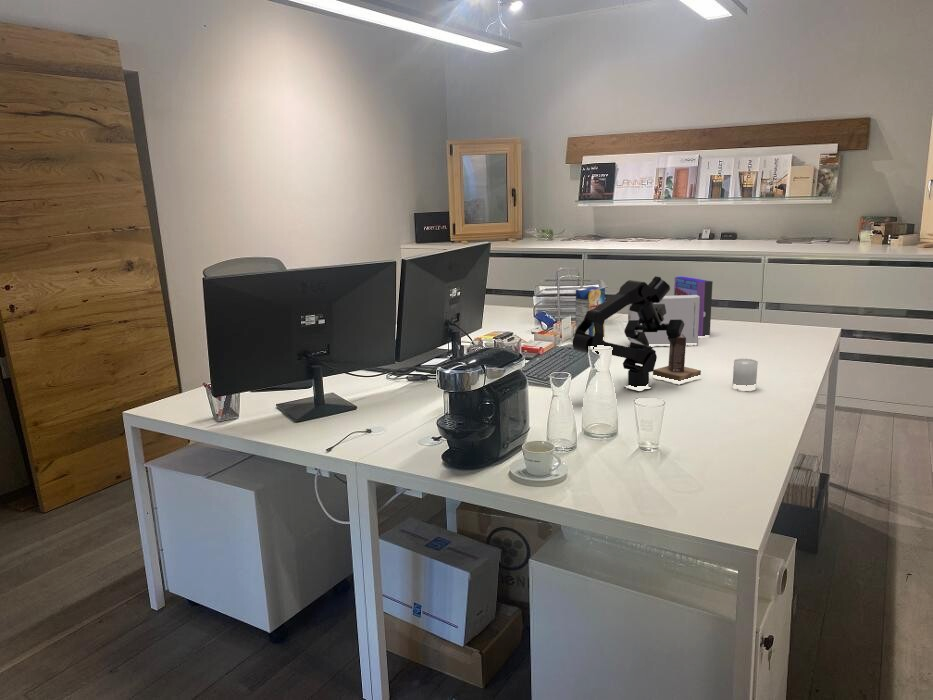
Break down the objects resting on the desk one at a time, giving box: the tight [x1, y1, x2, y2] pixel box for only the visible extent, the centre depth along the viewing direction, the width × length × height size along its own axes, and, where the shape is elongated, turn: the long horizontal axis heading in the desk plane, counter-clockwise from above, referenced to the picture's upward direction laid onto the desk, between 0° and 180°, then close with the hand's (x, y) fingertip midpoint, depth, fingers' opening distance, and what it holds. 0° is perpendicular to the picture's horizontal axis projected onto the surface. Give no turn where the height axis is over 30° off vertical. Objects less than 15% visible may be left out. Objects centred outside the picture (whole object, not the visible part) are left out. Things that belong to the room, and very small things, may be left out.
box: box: [667, 334, 687, 373], centre depth 237 cm, size 6×4×12 cm
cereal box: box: [673, 276, 714, 336], centre depth 300 cm, size 17×5×24 cm, turn 25°
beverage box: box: [575, 286, 606, 336], centre depth 295 cm, size 7×11×22 cm, turn 135°
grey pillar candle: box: [732, 358, 759, 386], centre depth 225 cm, size 7×7×9 cm
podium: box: [652, 365, 702, 381], centre depth 239 cm, size 11×11×3 cm
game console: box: [627, 295, 700, 345], centre depth 283 cm, size 6×27×20 cm, turn 89°
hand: (661, 345), depth 235 cm, fingers open, 9 cm apart
